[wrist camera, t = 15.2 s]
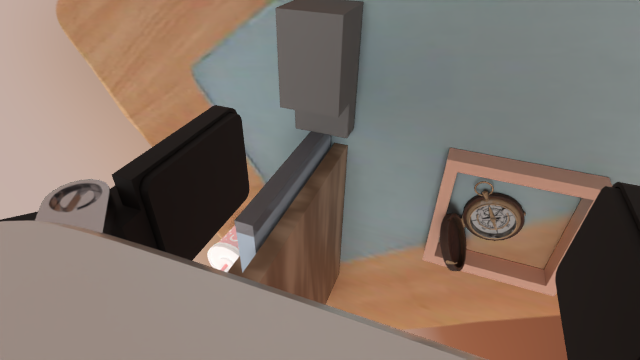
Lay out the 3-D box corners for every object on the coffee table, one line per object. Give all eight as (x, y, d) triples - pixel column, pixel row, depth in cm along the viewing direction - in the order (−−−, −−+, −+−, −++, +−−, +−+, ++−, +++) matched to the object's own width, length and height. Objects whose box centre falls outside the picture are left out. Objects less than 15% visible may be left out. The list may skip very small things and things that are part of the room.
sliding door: (331, 125, 43) (252, 225, 29) (327, 230, 52) (266, 343, 38) (317, 123, 43) (234, 220, 29) (316, 227, 52) (252, 338, 39)
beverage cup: (286, 228, 55) (235, 303, 45) (263, 242, 59) (211, 315, 48) (256, 198, 54) (197, 268, 43) (234, 215, 58) (175, 283, 47)
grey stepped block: (363, 1, 35) (343, 15, 30) (353, 128, 42) (336, 154, 38) (303, -4, 36) (275, 8, 32) (304, 118, 44) (281, 142, 39)
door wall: (347, 145, 44) (246, 303, 26) (339, 273, 57) (267, 437, 39) (303, 136, 45) (178, 279, 28) (304, 262, 58) (220, 415, 40)
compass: (530, 232, 42) (535, 281, 36) (456, 239, 46) (450, 284, 40) (515, 171, 38) (518, 215, 33) (437, 184, 42) (428, 225, 37)
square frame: (608, 177, 35) (615, 192, 33) (551, 279, 44) (554, 296, 42) (449, 147, 39) (447, 159, 37) (425, 246, 48) (422, 260, 46)
